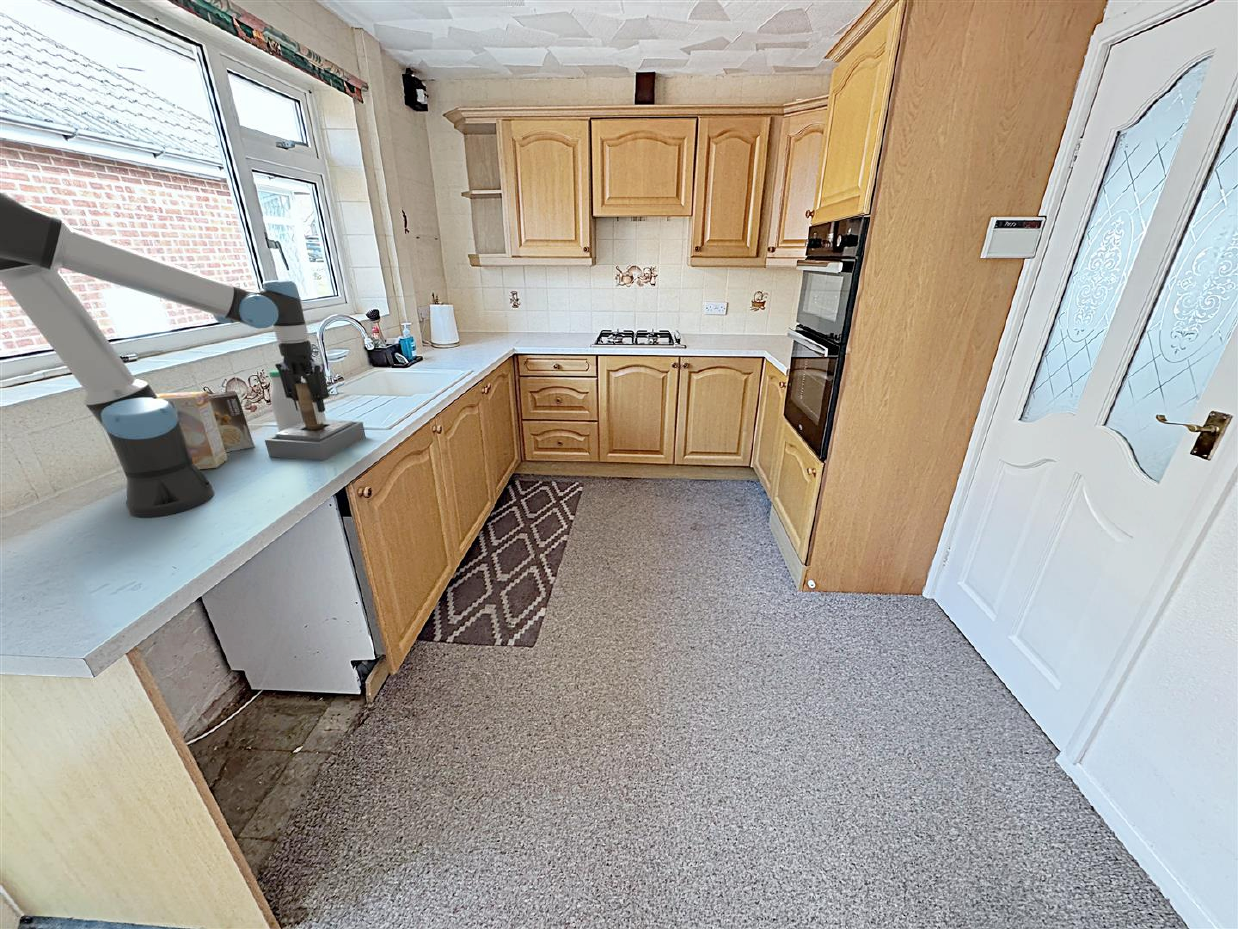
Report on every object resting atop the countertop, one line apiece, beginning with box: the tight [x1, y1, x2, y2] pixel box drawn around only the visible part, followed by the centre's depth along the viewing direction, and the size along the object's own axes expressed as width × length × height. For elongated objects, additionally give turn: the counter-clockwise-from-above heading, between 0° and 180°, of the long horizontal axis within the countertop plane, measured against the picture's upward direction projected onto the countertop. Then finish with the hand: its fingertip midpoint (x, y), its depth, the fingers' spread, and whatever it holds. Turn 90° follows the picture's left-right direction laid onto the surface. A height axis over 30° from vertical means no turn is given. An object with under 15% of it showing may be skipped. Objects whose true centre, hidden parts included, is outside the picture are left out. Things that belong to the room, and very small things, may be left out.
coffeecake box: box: [155, 390, 228, 470], centre depth 131 cm, size 15×7×20 cm, turn 105°
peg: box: [295, 380, 324, 431], centre depth 144 cm, size 4×4×15 cm
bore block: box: [274, 419, 353, 442], centre depth 147 cm, size 14×14×5 cm
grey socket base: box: [264, 420, 366, 461], centre depth 148 cm, size 19×17×5 cm
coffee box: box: [208, 390, 255, 453], centre depth 144 cm, size 9×6×16 cm
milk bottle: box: [268, 369, 301, 432], centre depth 155 cm, size 8×8×20 cm
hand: (313, 421), depth 145 cm, fingers closed on peg, 4 cm apart
